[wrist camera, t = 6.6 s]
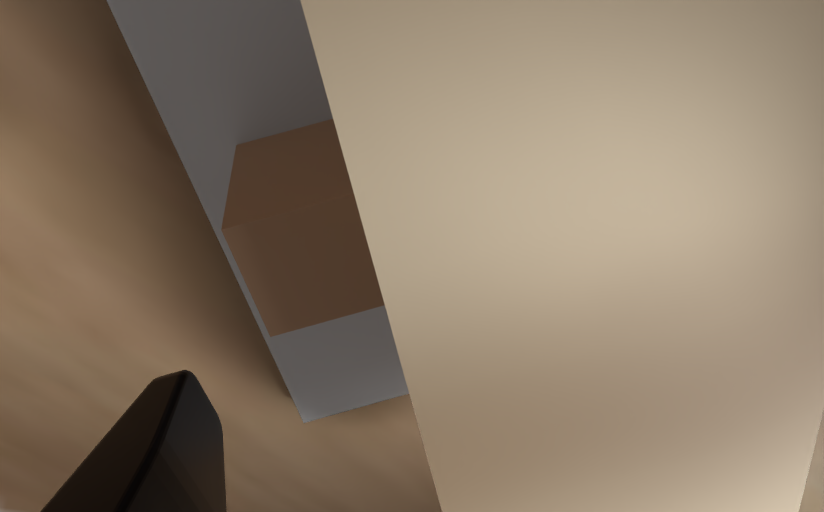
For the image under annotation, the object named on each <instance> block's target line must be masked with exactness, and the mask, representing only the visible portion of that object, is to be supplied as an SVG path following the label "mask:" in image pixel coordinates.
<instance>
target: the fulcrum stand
mask: <svg viewBox="0 0 824 512" xmlns="http://www.w3.org/2000/svg"><path fill="white" fill-rule="evenodd" d="M107 3H108V5H109V7H110V9H111V11H112V13H113V15H114V18H115V20H116V22H117V24H118V26H119V28H120V30H121V33H122V35H123V37H124V39H125V41H126V43H127V45H128V48H129V50H130V52H131V54H132V56H133V58H134V60H135V63H136V65H137V67H138V69H139V71H140V73H141V75H142V78H143V80H144V82H145V84H146V86H147V88H148V90H149V93H150V95H151V97H152V99H153V101H154V103H155V105H156V108H157V110H158V112H159V114H160V116H161V118H162V120H163V123H164V125H165V127H166V129H167V131H168V133H169V135H170V138H171V140H172V142H173V144H174V146H175V148H176V150H177V153H178V155H179V157H180V159H181V161H182V163H183V165H184V168H185V170H186V172H187V174H188V176H189V178H190V180H191V183H192V185H193V187H194V189H195V191H196V193H197V195H198V198H199V200H200V202H201V204H202V206H203V208H204V210H205V213H206V215H207V217H208V219H209V221H210V223H211V225H212V228H213V230H214V232H215V234H216V236H217V238H218V240H219V242H220V245H221V247H222V249H223V251H224V253H225V255H226V257H227V260H228V262H229V264H230V266H231V268H232V270H233V272H234V275H235V277H236V279H237V281H238V283H239V285H240V287H241V290H242V292H243V294H244V296H245V298H246V300H247V302H248V305H249V307H250V309H251V311H252V313H253V315H254V317H255V320H256V322H257V324H258V326H259V328H260V330H261V332H262V335H263V337H264V339H265V341H266V343H267V345H268V347H269V350H270V352H271V354H272V356H273V358H274V360H275V362H276V365H277V367H278V369H279V371H280V373H281V375H282V377H283V380H284V382H285V384H286V386H287V388H288V390H289V392H290V395H291V397H292V399H293V401H294V403H295V405H296V407H297V410H298V412H299V414H300V416H301V418H302V420H303V422H304V423H306V422H309V421H313V420H316V419H320V418H324V417H327V416H331V415H334V414H338V413H341V412H345V411H349V410H352V409H356V408H359V407H363V406H366V405H370V404H373V403H377V402H381V401H384V400H388V399H391V398H395V397H398V396H402V395H406V394H409V391H408V387H407V384H406V380H405V377H404V373H403V369H402V366H401V362H400V358H399V355H398V351H397V348H396V344H395V340H394V337H393V333H392V330H391V326H390V322H389V319H388V315H387V311H386V308H385V304H384V301H383V297H382V293H381V290H380V286H379V283H378V279H377V275H376V272H375V268H374V264H373V261H372V257H371V254H370V250H369V246H368V243H367V239H366V235H365V232H364V228H363V225H362V221H361V217H360V214H359V210H358V207H357V203H356V199H355V196H354V192H353V188H352V185H351V181H350V178H349V174H348V170H347V167H346V163H345V160H344V156H343V152H342V149H341V145H340V141H339V138H338V134H337V131H336V127H335V123H334V120H333V116H332V113H331V109H330V105H329V102H328V98H327V94H326V91H325V87H324V84H323V80H322V76H321V73H320V69H319V66H318V62H317V58H316V55H315V51H314V47H313V44H312V40H311V37H310V33H309V29H308V26H307V22H306V19H305V15H304V11H303V8H302V4H301V0H107Z"/></svg>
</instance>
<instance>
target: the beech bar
mask: <svg viewBox="0 0 824 512" xmlns="http://www.w3.org/2000/svg"><path fill="white" fill-rule="evenodd" d="M301 4H302V8H303V11H304V15H305V19H306V22H307V26H308V29H309V33H310V37H311V40H312V44H313V47H314V51H315V55H316V58H317V62H318V66H319V69H320V73H321V76H322V80H323V84H324V87H325V91H326V94H327V98H328V102H329V105H330V109H331V113H332V116H333V120H334V123H335V127H336V131H337V134H338V138H339V141H340V145H341V149H342V152H343V156H344V160H345V163H346V167H347V170H348V174H349V178H350V181H351V185H352V188H353V192H354V196H355V199H356V203H357V207H358V210H359V214H360V217H361V221H362V225H363V228H364V232H365V235H366V239H367V243H368V246H369V250H370V254H371V257H372V261H373V264H374V268H375V272H376V275H377V279H378V283H379V286H380V290H381V293H382V297H383V301H384V304H385V308H386V311H387V315H388V319H389V322H390V326H391V330H392V333H393V337H394V340H395V344H396V348H397V351H398V355H399V358H400V362H401V366H402V369H403V373H404V377H405V380H406V384H407V387H408V391H409V395H410V398H411V402H412V405H413V409H414V413H415V416H416V420H417V424H418V427H419V431H420V434H421V438H422V442H423V445H424V449H425V452H426V456H427V460H428V463H429V467H430V471H431V474H432V478H433V481H434V485H435V489H436V492H437V496H438V499H439V503H440V507H441V510H442V512H799V508H800V504H801V500H802V496H803V492H804V488H805V484H806V480H807V476H808V472H809V468H810V464H811V460H812V455H813V451H814V447H815V443H816V439H817V435H818V431H819V427H820V423H821V419H822V415H823V411H824V0H301Z"/></svg>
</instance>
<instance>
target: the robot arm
mask: <svg viewBox="0 0 824 512" xmlns="http://www.w3.org/2000/svg"><path fill="white" fill-rule="evenodd" d="M41 512H227V510H226V490H225V470H224V450H223V433H222V426H221V423H220V419H219V417H218V415H217V413H216V411H215V409H214V407H213V406H212V404H211V402H210V400H209V399H208V397H207V395H206V393H205V392H204V390H203V388H202V387H201V385H200V383H199V381H198V380H197V378H196V376H195V375H194V374H193V373H192V372H190V371H187V370H182V371H178V372H175V373H171V374H167V375H164V376H160V377H158V378H155V379H154V380H153V381H152V382H151V383H150V384H149V385H148V386H147V387H146V388H145V389H144V391H143V392H142V393H141V394H140V395H139V396H138V398H137V399H136V400H135V401H134V402H133V404H132V405H131V406H130V407H129V408H128V409H127V411H126V412H125V413H124V414H123V415H122V416H121V418H120V419H119V420H118V421H117V422H116V424H115V425H114V426H113V427H112V428H111V429H110V431H109V432H108V433H107V434H106V435H105V436H104V438H103V439H102V440H101V441H100V442H99V443H98V445H97V446H96V447H95V448H94V449H93V451H92V452H91V453H90V454H89V455H88V456H87V458H86V459H85V460H84V461H83V462H82V463H81V465H80V466H79V467H78V468H77V469H76V470H75V472H74V473H73V474H72V475H71V476H70V478H69V479H68V480H67V481H66V482H65V483H64V485H63V486H62V487H61V488H60V489H59V490H58V492H57V493H56V494H55V495H54V496H53V498H52V499H51V500H50V501H49V502H48V503H47V505H46V506H45V507H44V508H43V509H42V510H41Z"/></svg>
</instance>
